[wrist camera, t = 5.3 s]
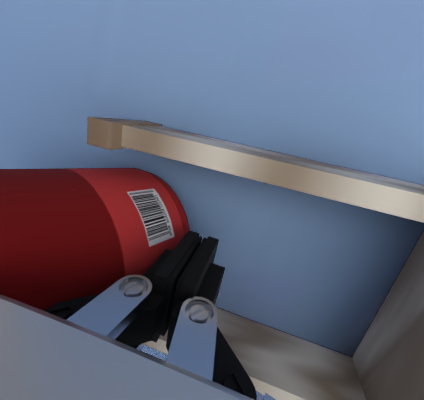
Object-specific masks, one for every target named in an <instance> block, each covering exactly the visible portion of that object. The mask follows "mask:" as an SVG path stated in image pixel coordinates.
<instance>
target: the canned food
mask: <svg viewBox="0 0 424 400" xmlns="http://www.w3.org/2000/svg"><path fill="white" fill-rule="evenodd" d="M188 231H189V225H188V221H187V216H186V214H185V211H184V208H183V206H182V204H181V202H180V200H179V198H178V197H177V195H176V193H175V192H174V191H173V190H172V189H171V187H170V186H169V185H168V184H167V183H166V182H164V181H163V180H162V179H161V178H159V177H158V176H156V175H154V174H152V173H149V172H146V171H143V170H140V169H136V168H78V169H0V295H4V296H7V297H9V298H12V299H14V300H17V301H20V302H22V303H25V304H27V305H30V306H33V307H35V308H38V309H40V310H43V311H44V310H46V309H47V308H49V307H51V306H53V305H55V304H57V303H59V302H62V301H67V300H71V299H76V298H81V297H85V296H90V295H95V294H99V293H102V292H104V291H105V290H106V289H108V288H109V287H110V286H112V285H113V284H114V283H115V282H117V281H118V280H119V279H121V278H123V277H125V276H128V275H142V276H143V275H144V274H145V272H146V271H147V270H148V269H149V268H150V267H151V265H152V264H153V263H154V262H155V261H156V260H157V259H158V257H159V256H160V255H161V254H162V253H163V252H164V251H165V250H166V249H170V250H174V248H175V247H176V246H177V245H178V243H179V242H180V241H181V240H182V238H183V237H184V236H185V235H186V233H187V232H188Z"/></svg>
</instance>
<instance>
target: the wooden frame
mask: <svg viewBox="0 0 424 400" xmlns="http://www.w3.org/2000/svg"><path fill="white" fill-rule="evenodd" d="M87 144H89V145H93V146H97V147H101V148H105V149H109V150H113V149H122V148H129V149H133V150H137V151H141V152H145V153H149V154H153V155H157V156H161V157H165V158H169V159H173V160H177V161H181V162H185V163H189V164H193V165H197V166H201V167H204V168H208V169H212V170H216V171H220V172H224V173H228V174H232V175H236V176H240V177H244V178H248V179H252V180H256V181H260V182H264V183H268V184H272V185H276V186H280V187H284V188H288V189H292V190H296V191H300V192H304V193H308V194H312V195H316V196H319V197H323V198H327V199H331V200H335V201H339V202H343V203H347V204H351V205H355V206H359V207H363V208H367V209H371V210H375V211H379V212H383V213H387V214H391V215H395V216H399V217H403V218H407V219H411V220H415V221H419V222H423V223H424V185H420V184H415V183H411V182H406V181H402V180H398V179H393V178H389V177H384V176H380V175H375V174H371V173H366V172H362V171H358V170H353V169H349V168H344V167H340V166H335V165H331V164H326V163H322V162H318V161H313V160H309V159H304V158H300V157H295V156H291V155H286V154H282V153H278V152H273V151H269V150H264V149H260V148H255V147H251V146H246V145H242V144H238V143H233V142H229V141H224V140H220V139H215V138H211V137H207V136H202V135H198V134H193V133H189V132H184V131H180V130H175V129H171V128H167V127H162V125H161V124H156V123H152V122H147V121H138V120H125V119H111V118H98V117H88V138H87ZM217 310H218V322H217V327H218V328H219V330H220V331H221V333H222V334H223V336H224V338H225V339H226V341H227V342H228V344H229V346H230V347H231V349H232V350H233V352H234V353H235V355H236V357H237V358H238V360H239V361H240V363H241V364H242V366H243V368H244V369H245V371H246V372H247V374H248V376H249V377H250V379H251V380H252V382H253V384H254V387H255V390H256V391H258V392H259V393H261V394H262V395H265V393H267V394H268V395H270V396H271V397H273V398H274V399H276V400H424V231H423V233H422V235H421V236H420V238H419V240H418V242H417V244H416V245H415V247H414V249H413V251H412V252H411V254H410V256H409V258H408V259H407V261H406V263H405V265H404V266H403V268H402V270H401V272H400V274H399V275H398V277H397V279H396V281H395V282H394V284H393V286H392V288H391V289H390V291H389V293H388V295H387V296H386V298H385V300H384V302H383V304H382V305H381V307H380V309H379V311H378V312H377V314H376V316H375V318H374V319H373V321H372V323H371V325H370V326H369V328H368V330H367V332H366V334H365V335H364V337H363V339H362V341H361V342H360V344H359V346H358V348H357V349H356V351H355V353H354V355H353V356H352V357H349V356H347V355H344V354H341V353H338V352H336V351H333V350H330V349H328V348H325V347H322V346H319V345H317V344H314V343H311V342H309V341H306V340H303V339H300V338H298V337H295V336H292V335H290V334H287V333H284V332H281V331H279V330H276V329H273V328H271V327H268V326H265V325H263V324H260V323H257V322H254V321H252V320H249V319H246V318H244V317H241V316H238V315H235V314H233V313H230V312H227V311H225V310H222V309H219V308H217ZM167 334H168V330H167V332H166V334H165V336H162V335H160V337H159V339H158V340H157V342H153V341H149V342H146V343H144V345H146V346H149V347H151V348H153V349H156V350H158V351H160V352H163V353H165V354H167V355H168V351H167V348H166V342H167Z"/></svg>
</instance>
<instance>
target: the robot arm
mask: <svg viewBox="0 0 424 400" xmlns="http://www.w3.org/2000/svg"><path fill="white" fill-rule="evenodd" d="M201 240H202V237H200V236H199V233H196V232H193V231H190V230H189V231H188V232H187V233H186V235H185V236H184V237H183V238H182V240H181V241H180V242H179V243H178V245H177V246H176V247H175V248H174V250H170V249H166V250H165V251H164V252H163V253H162V254H161V255H160V256H159V257H158V259H157V260H156V261H155V262H154V263H153V264H152V265H151V267H150V268H149V269H148V270H147V271H146V272H145V274H144V275H143V276H142V275H128V276H125V277H123V278H121V279H119V280H118V281H117V282H115V283H114V284H113V285H112V286H110V287H109V288H108V289H106V290H105V291H104V292H102V293H99V294H95V295H90V296H85V297H81V298H76V299H71V300H67V301H62V302H59V303H57V304H55V305H53V306H51V307H49V308H47V309H46V310H44V311H43V310H40V309H38V308H35V307H33V306H30V305H27V304H25V303H22V302H20V301H17V300H14V299H12V298H9V297H7V296H4V295H0V400H276V399H274V398H273V397H271V396H270V395H268V394H267V393H265V395H262V394H261V393H259V392H258V391H256V390H255V387H254V384H253V382H252V380H251V379H250V377H249V376H248V374H247V372H246V371H245V369H244V368H243V366H242V364H241V363H240V361H239V360H238V358H237V357H236V355H235V353H234V352H233V350H232V349H231V347H230V346H229V344H228V342H227V341H226V339H225V338H224V336H223V334H222V333H221V331H220V330H219V328H218V327H217V322H218V310H217V308H216V306H215V305H214V304H215V301H216V298H217V295H218V292H219V288H220V285H221V281H222V278H223V274H224V270H225V267H221V266H218V265H215V264H213V262H214V257H215V253H216V249H217V245H218V241H219V239H216V238H212V237H208V238H207V239H206V238H204V239H203V241H202V242H201ZM167 330H168V334H167V342H166V348H167V351H168V355H167V359H166V361H164V360H161V359H159V358H157V357H154V356H152V355H149V354H147V353H145V352H142V351H141V350H142V348H143V346H144V343H146V342H149V341H153V342H157V340H158V339H159V337H160V335H162V336H165V334H166V332H167Z"/></svg>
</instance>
